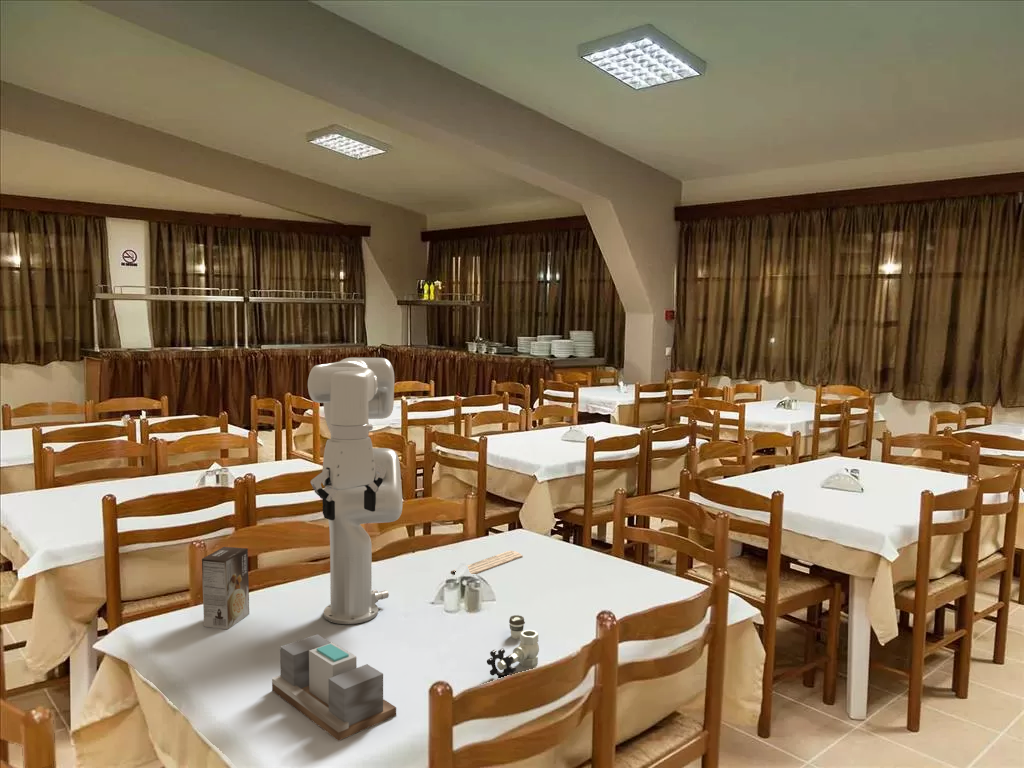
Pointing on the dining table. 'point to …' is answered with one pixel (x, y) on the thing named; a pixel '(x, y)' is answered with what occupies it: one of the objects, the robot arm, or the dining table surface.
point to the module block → (327, 668)
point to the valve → (516, 655)
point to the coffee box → (225, 587)
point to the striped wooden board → (493, 562)
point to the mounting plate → (332, 692)
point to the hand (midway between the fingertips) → (349, 514)
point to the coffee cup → (516, 626)
